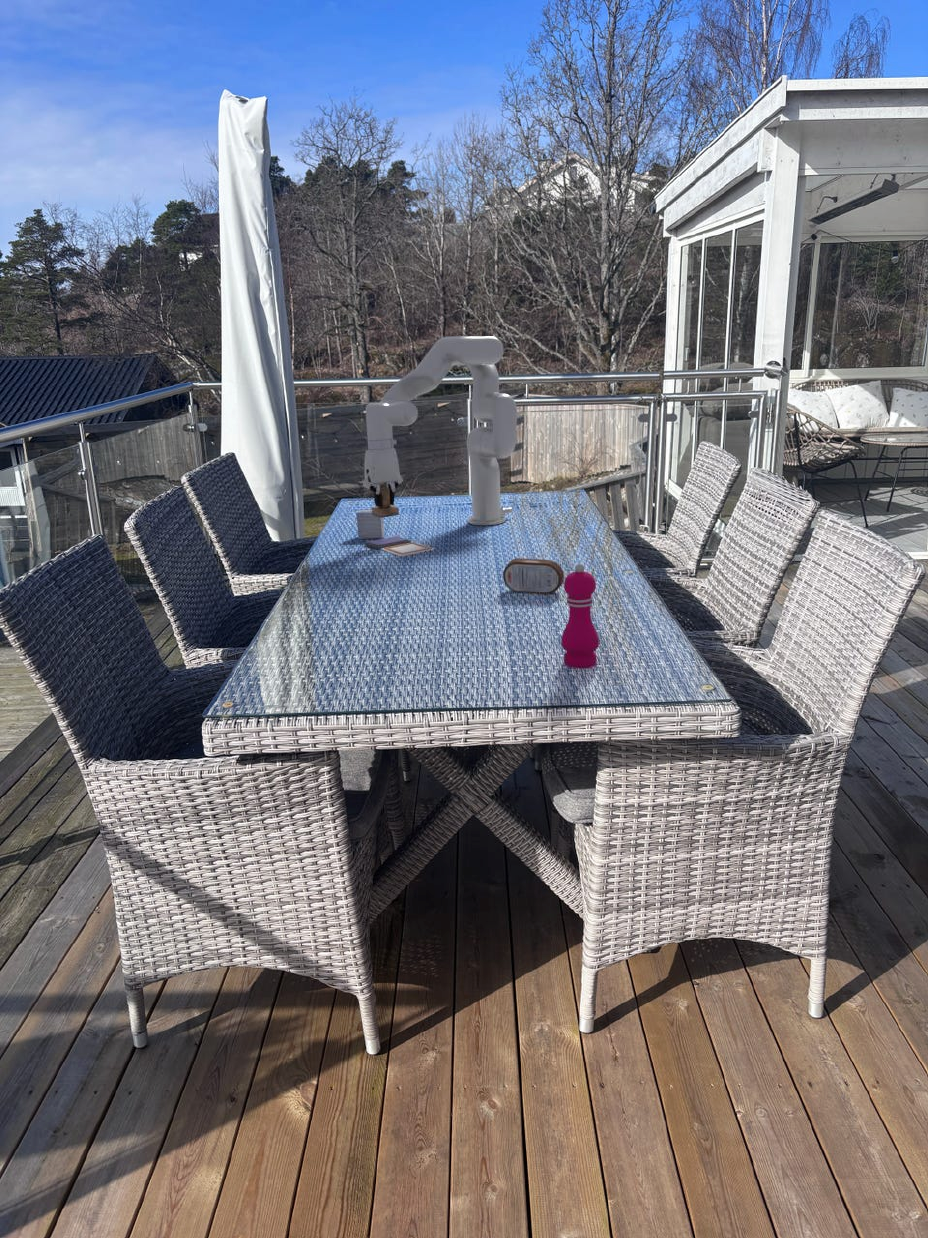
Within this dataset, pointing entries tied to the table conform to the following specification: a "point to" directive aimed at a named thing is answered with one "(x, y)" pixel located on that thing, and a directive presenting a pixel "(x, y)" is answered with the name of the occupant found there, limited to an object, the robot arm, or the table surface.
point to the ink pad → (387, 542)
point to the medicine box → (369, 525)
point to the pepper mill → (580, 620)
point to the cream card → (407, 549)
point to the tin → (533, 576)
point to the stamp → (385, 506)
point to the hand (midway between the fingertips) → (384, 504)
